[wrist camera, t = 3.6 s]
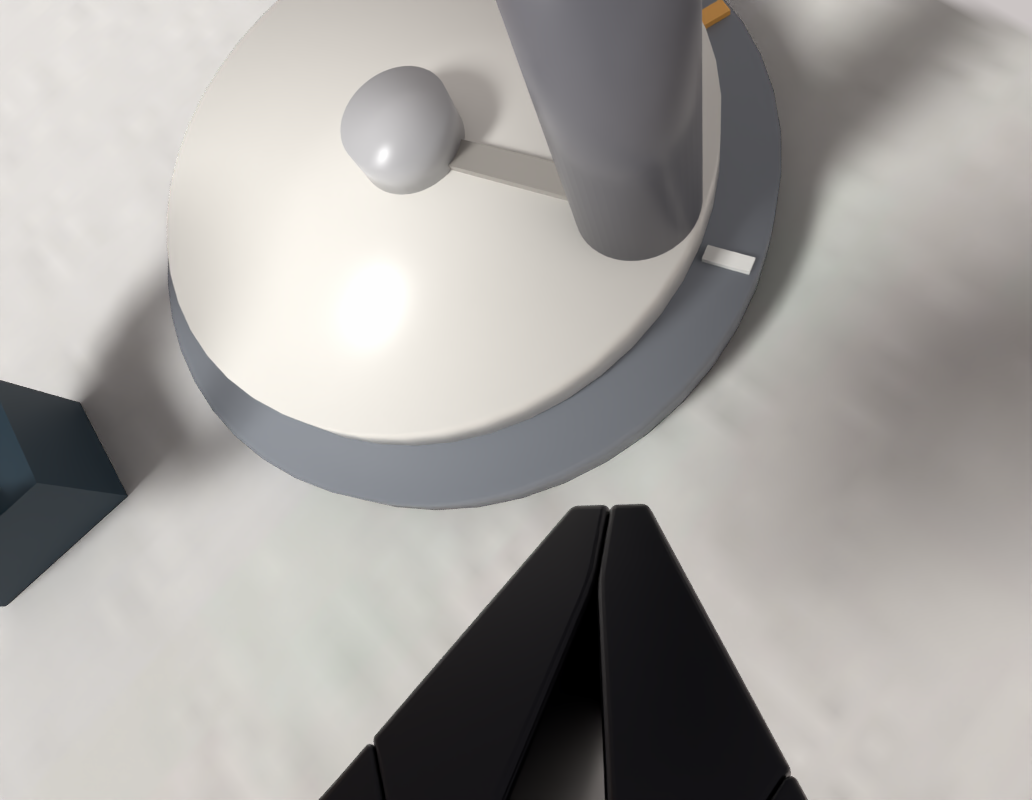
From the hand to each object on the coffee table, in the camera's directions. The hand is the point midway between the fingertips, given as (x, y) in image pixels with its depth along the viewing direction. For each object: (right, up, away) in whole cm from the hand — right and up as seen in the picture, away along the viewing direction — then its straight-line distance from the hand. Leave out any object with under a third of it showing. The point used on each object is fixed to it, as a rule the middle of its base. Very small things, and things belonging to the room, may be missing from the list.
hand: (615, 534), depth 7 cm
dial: (-3, +8, +12) cm, 15 cm away
